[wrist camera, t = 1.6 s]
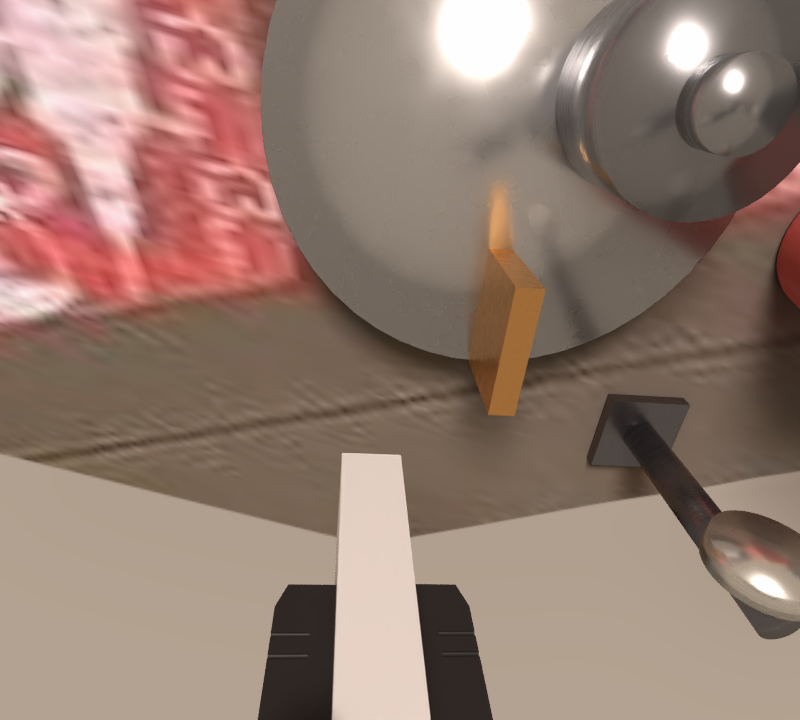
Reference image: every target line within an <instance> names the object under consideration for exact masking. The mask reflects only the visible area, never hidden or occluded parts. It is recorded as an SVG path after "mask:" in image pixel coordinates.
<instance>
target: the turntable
mask: <svg viewBox="0 0 800 720" xmlns="http://www.w3.org/2000/svg"><path fill="white" fill-rule="evenodd" d="M612 1H614V0H277V1H276V4H275V8H274V11H273V14H272V18H271V21H270V25H269V29H268V36H267V42H266V48H265V54H264V60H263V66H262V86H261V118H262V131H263V143H264V149H265V154H266V159H267V164H268V169H269V174H270V179H271V183H272V186H273V188H274V191H275V194H276V197H277V200H278V203H279V206H280V209H281V212H282V215H283V217H284V219H285V221H286V223H287V225H288V227H289V229H290V231H291V233H292V236H293V238H294V240H295V242H296V244H297V245H298V247H299V248H300V250H301V251H302V253H303V255H304V256H305V258H306V259H307V261H308V262H309V264H310V265H311V267H312V268H313V270H314V271H315V272H316V274H317V275H318V276H319V277H320V278H321V279H322V281H323V282H324V283H325V284H326V285H327V287H328V288H329V289H330V290H331V291H332V293H334V294H335V295H336V296H337V297H338V298H339V299H340V300H341V301H342V302H343V303H344V304H345V305H347V306H348V307H349V308H350V309H351V310H352V311H353V312H354V313H356V314H357V315H358V316H360V317H361V318H363V319H364V320H366V321H367V322H368V323H370V324H371V325H373V326H374V327H375V328H377V329H379V330H381V331H382V332H384V333H386V334H388V335H390V336H392V337H394V338H396V339H397V340H399V341H401V342H404V343H406V344H409V345H412V346H414V347H417V348H419V349H422V350H425V351H428V352H432V353H436V354H440V355H444V356H448V357H452V358H460V359H468V361H469V364H470V366H471V369H472V372H473V375H474V377H475V380H476V383H477V386H478V389H479V391H480V394H481V397H482V400H483V402H484V405H485V408H486V411H487V413H488V415H501V416H515V412H516V408H517V404H518V400H519V396H520V392H521V388H522V384H523V380H524V376H525V371H526V367H527V363H528V359H529V358H535V357H540V356H544V355H548V354H553V353H557V352H561V351H564V350H567V349H570V348H573V347H576V346H579V345H581V344H584V343H587V342H589V341H592V340H594V339H596V338H598V337H600V336H602V335H604V334H606V333H609V332H611V331H613V330H615V329H616V328H618V327H620V326H621V325H623V324H625V323H626V322H628V321H630V320H631V319H633V318H635V317H636V316H638V315H640V314H641V313H642V312H644V311H645V310H646V309H648V308H649V307H650V306H652V305H653V304H654V303H656V302H657V301H658V300H660V299H661V298H662V297H664V296H665V295H666V294H667V293H668V292H669V291H670V290H671V289H672V288H674V287H675V286H676V285H677V284H678V283H679V282H680V281H681V280H682V279H683V278H685V277H686V276H687V275H688V274H689V273H690V271H691V270H692V269H693V268H694V267H695V266H696V265H697V264H698V262H699V261H700V260H701V259H702V258H703V257H704V256H705V255H706V254H707V252H708V251H709V250H710V249H711V247H712V246H713V245H714V243H715V242H716V241H717V239H718V238H719V237H720V235H721V234H722V232H723V231H724V230H725V228H726V227H727V226H728V224H729V223H730V221H731V219H732V218H733V216H734V214H735V213H736V212H734V213H731V214H728V215H726V216H723V217H720V218H716V219H712V220H708V221H701V222H674V221H668V220H664V219H661V218H658V217H655V216H652V215H650V214H648V213H646V212H644V211H642V210H640V209H639V208H637V207H635V206H633V205H631V204H629V203H627V202H625V201H623V200H621V199H619V198H617V197H615V196H613V195H611V194H610V193H608V192H606V191H604V190H602V189H600V188H598V187H596V186H594V185H592V184H590V183H589V182H588V181H586V180H585V179H584V178H582V177H581V176H580V175H579V174H578V173H577V172H576V171H575V170H574V168H573V167H572V166H571V164H570V163H569V161H568V160H567V158H566V156H565V154H564V152H563V150H562V147H561V144H560V141H559V138H558V133H557V129H556V119H555V103H556V94H557V88H558V83H559V80H560V76H561V72H562V69H563V67H564V64H565V62H566V59H567V57H568V55H569V53H570V51H571V49H572V47H573V45H574V43H575V42H576V40H577V39H578V37H579V36H580V34H581V33H582V31H583V30H584V29H585V28H586V26H587V25H588V24H589V23H590V22H591V20H592V19H593V18H594V17H595V16H596V15H597V14H598V13H599V12H600V11H601V10H602V9H603V8H604V7H606V6H607V5H608V4H610V3H611V2H612Z"/></svg>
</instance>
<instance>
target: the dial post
mask: <svg viewBox="0 0 800 720" xmlns="http://www.w3.org/2000/svg"><path fill="white" fill-rule="evenodd" d="M689 407H690V405H689V404H688V402H687V401H686V400H685V399H684V398H671V397H653V396H635V395H616V394H608V397H607V400H606V403H605V406H604V408H603V411H602V414H601V417H600V420H599V423H598V426H597V429H596V432H595V435H594V438H593V441H592V444H591V447H590V450H589V453H588V456H587V458H588V460H589V461H590V463H591V465H607V466H631V467H642V468H643V470H644V471H645V473H646V474H647V476H648V477H649V478H650V480H651V481H652V483H653V484H654V486H655V487H656V488H657V490H658V491H659V493H660V494H661V496H662V497H663V498H664V500H665V501H666V503H667V504H668V505H669V507H670V508H671V510H672V511H673V512H674V514H675V516H676V517H677V519H678V520H679V521H680V523H681V524H682V526H683V527H684V529H685V530H686V531H687V533H688V534H689V536H690V537H691V539H692V540H693V541H694V543H695V544H696V546H697V547H698V549H699V553H700V556H701V559H702V561H703V563H704V565H705V567H706V568H707V570H708V571H709V573H710V574H711V575H712V577H713V578H714V579H715V580H716V581H717V582H718V583H719V584H720V585H721V586H722V587H723V588H724V589H726V590H727V591H728V592H729V593H730V594H731V596H732V597H733V599H734V600H735V601H736V603H737V604H738V606H739V607H740V608H741V610H742V612H743V613H744V614H745V616H746V617H747V619H748V620H749V622H750V623H751V625H752V626H753V627H754V629H755V630H756V632H757V633H758V634H759V636H760V637H762V638H765V639H778V638H782V637H785V636H788V635H790V634H792V633H794V632H795V631H797V630H798V629H799V628H800V534H799V533H797V532H796V531H794V530H792V529H791V528H789V527H787V526H785V525H783V524H781V523H779V522H777V521H775V520H772V519H770V518H767V517H765V516H762V515H759V514H755V513H750V512H746V511H736V510H734V511H724V512H721V510H720V509H719V508H718V507H717V506H716V504H715V503H714V502H713V500H712V499H711V498H710V497H709V495H708V494H707V493H706V492H705V490H704V489H703V488H702V487H701V486H700V484H699V483H698V482H697V481H696V479H695V478H694V477H693V476H692V474H691V473H690V472H689V471H688V469H687V468H686V467H685V466H684V464H683V463H682V462H681V461H680V460H679V458H678V457H677V456H676V455H675V453H674V452H673V451H672V450H671V448H672V446H673V444H674V441H675V439H676V437H677V435H678V432H679V430H680V428H681V425H682V423H683V421H684V418H685V416H686V414H687V411H688V409H689Z"/></svg>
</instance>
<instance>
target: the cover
mask: <svg viewBox="0 0 800 720" xmlns="http://www.w3.org/2000/svg"><path fill="white" fill-rule="evenodd" d="M555 119H556V129H557V133H558V138H559V141H560V144H561V147H562V150H563V152H564V154H565V156H566V158H567V160H568V161H569V163H570V164H571V166H572V167H573V168H574V170H575V171H576V172H577V173H578V174H579V175H580V176H581V177H582V178H584V179H585V180H586V181H588V182H589V183H590V184H592V185H594V186H596V187H598V188H600V189H602V190H604V191H606V192H608V193H610V194H611V195H613V196H615V197H617V198H619V199H621V200H623V201H625V202H627V203H629V204H631V205H633V206H635V207H637V208H639V209H640V210H642V211H644V212H646V213H648V214H650V215H652V216H655V217H658V218H661V219H664V220H668V221H674V222H701V221H708V220H712V219H716V218H720V217H723V216H726V215H728V214H731V213H734V212H736V211H738V210H740V209H742V208H744V207H746V206H748V205H750V204H751V203H753V202H755V201H756V200H758V199H760V198H761V197H763V196H764V195H765V194H766V193H768V192H769V191H770V190H772V189H773V188H774V187H776V186H777V185H778V184H779V183H780V182H781V181H782V180H783V179H784V178H785V177H786V176H788V174H789V173H790V172H791V171H792V170H793V169H794V168H795V167H796V166H797V165H798V163H799V162H800V0H614V1H612V2H611V3H610V4H608V5H607V6H606V7H604V8H603V9H602V10H601V11H600V12H599V13H598V14H597V15H596V16H595V17H594V18H593V19H592V20H591V22H590V23H589V24H588V25H587V26H586V28H585V29H584V30H583V31H582V33H581V34H580V36H579V37H578V39H577V40H576V42H575V43H574V45H573V47H572V49H571V51H570V53H569V55H568V57H567V59H566V62H565V64H564V67H563V69H562V72H561V76H560V80H559V83H558V88H557V94H556V103H555Z"/></svg>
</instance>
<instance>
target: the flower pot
mask: <svg viewBox="0 0 800 720" xmlns="http://www.w3.org/2000/svg"><path fill="white" fill-rule="evenodd" d="M777 274H778V279H779V281H780V284H781V288H782V289H783V291H784V293H785V294H786V295H787V297H788V298H789V299H790V300H791V301H792V302H793V303H794V304H795V305H796V306H797V307H798V308H799V309H800V213H799V214H798V215H797V216H796V218H795V219H794V220H793V222H792V223H791V225H790V227H789V228H788V230H787V232H786V234H785V236H784V238H783V240H782V243H781V246H780V249H779V253H778V258H777Z"/></svg>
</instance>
